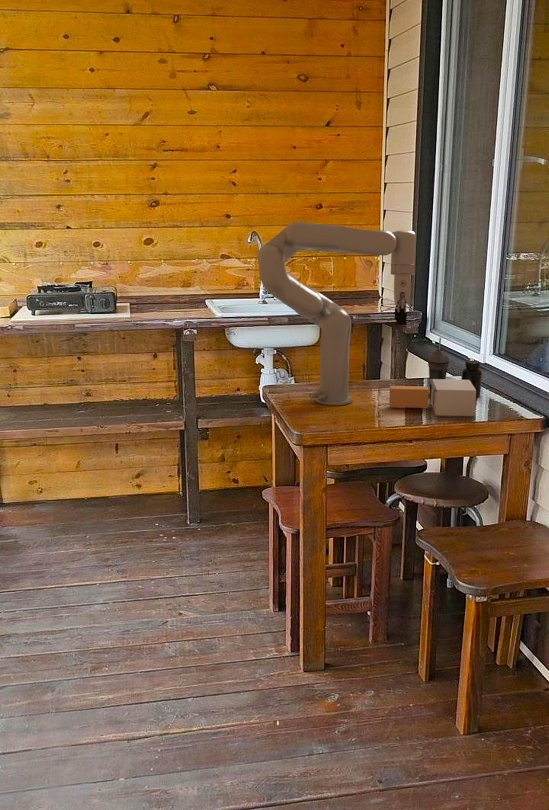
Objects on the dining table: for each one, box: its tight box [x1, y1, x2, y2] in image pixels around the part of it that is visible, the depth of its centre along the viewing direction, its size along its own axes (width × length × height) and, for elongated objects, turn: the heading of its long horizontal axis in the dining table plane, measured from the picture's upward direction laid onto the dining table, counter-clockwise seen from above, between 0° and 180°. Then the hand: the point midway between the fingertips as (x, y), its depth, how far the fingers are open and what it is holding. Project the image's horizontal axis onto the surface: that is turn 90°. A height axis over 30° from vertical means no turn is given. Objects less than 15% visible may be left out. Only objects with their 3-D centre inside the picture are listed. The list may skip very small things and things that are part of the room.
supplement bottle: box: [460, 360, 483, 399], centre depth 257 cm, size 7×7×12 cm
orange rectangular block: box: [388, 385, 430, 409], centre depth 243 cm, size 4×12×6 cm, turn 84°
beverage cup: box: [427, 337, 450, 395], centre depth 259 cm, size 7×7×20 cm
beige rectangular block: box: [430, 378, 477, 417], centre depth 241 cm, size 14×13×8 cm
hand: (400, 322), depth 248 cm, fingers open, 9 cm apart
